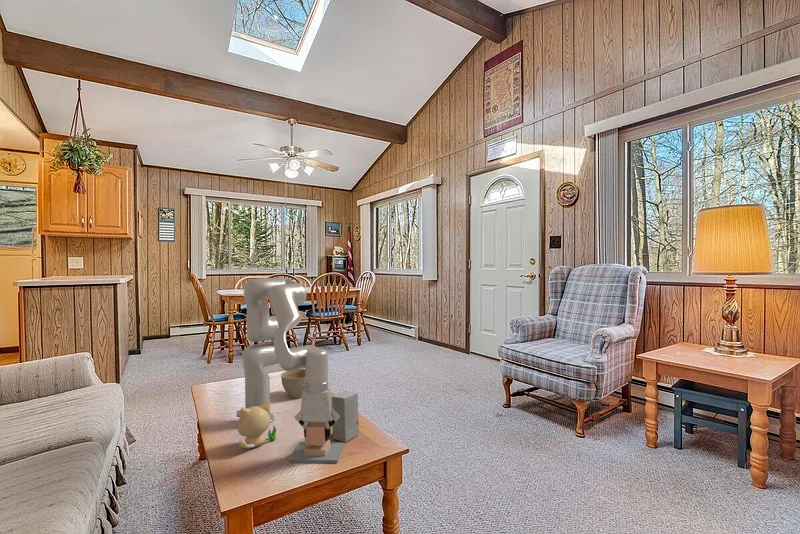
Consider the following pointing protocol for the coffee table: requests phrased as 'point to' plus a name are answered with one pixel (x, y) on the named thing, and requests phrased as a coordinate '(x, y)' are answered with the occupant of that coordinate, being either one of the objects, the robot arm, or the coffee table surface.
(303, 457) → the post board
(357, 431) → the skincare box
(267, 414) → the kitten
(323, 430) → the peach cardboard cube
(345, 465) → the coffee table surface
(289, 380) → the planter bowl
